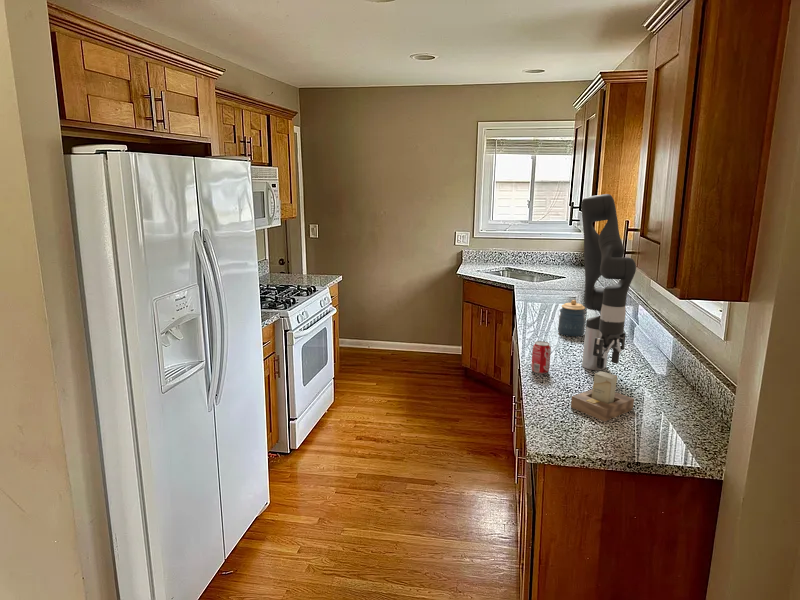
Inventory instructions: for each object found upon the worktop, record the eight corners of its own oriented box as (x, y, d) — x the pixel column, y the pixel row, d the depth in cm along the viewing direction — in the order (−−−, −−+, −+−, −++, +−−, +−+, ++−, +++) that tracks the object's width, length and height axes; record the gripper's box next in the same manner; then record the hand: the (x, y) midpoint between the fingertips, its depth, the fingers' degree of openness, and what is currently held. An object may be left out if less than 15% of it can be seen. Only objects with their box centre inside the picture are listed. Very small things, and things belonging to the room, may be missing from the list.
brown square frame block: (598, 397, 190) (599, 386, 189) (632, 409, 180) (634, 398, 179) (570, 407, 181) (571, 395, 180) (605, 421, 171) (606, 409, 170)
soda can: (549, 369, 218) (551, 341, 215) (548, 375, 211) (551, 346, 208) (531, 367, 219) (533, 339, 217) (530, 373, 213) (532, 344, 210)
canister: (579, 339, 263) (582, 304, 259) (553, 334, 270) (556, 300, 266) (587, 333, 273) (591, 299, 269) (563, 329, 280) (565, 296, 277)
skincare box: (589, 407, 182) (593, 373, 179) (596, 403, 185) (599, 370, 182) (607, 413, 177) (611, 378, 175) (613, 409, 180) (617, 375, 178)
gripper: (614, 312, 181) (609, 358, 184) (589, 318, 172) (584, 366, 176) (635, 317, 175) (629, 364, 179) (610, 324, 167) (605, 373, 170)
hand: (607, 365), depth 177 cm, fingers open, 8 cm apart
